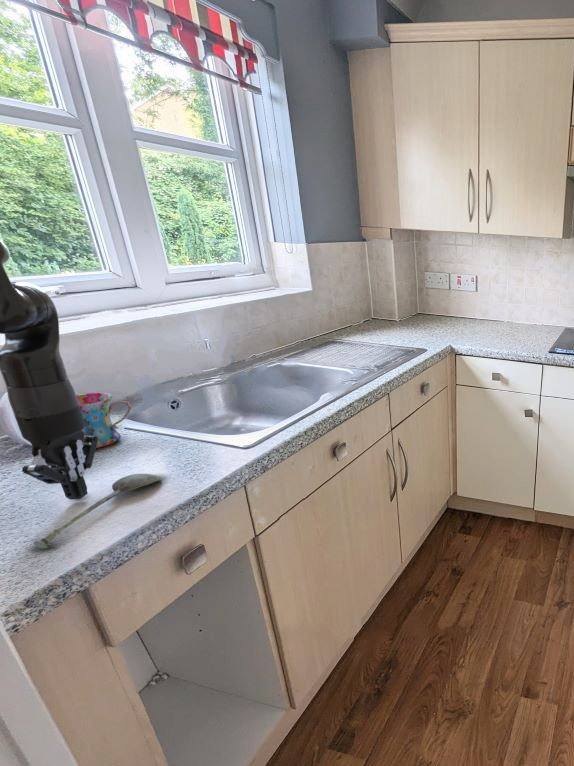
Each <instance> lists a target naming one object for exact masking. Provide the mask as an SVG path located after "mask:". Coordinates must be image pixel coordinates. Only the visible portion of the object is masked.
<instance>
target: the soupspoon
mask: <svg viewBox="0 0 574 766" xmlns="http://www.w3.org/2000/svg"><path fill="white" fill-rule="evenodd" d="M161 480H162V477H160V476H158V475H154V474H150V473H134V474H129V475H125V476H123V477H121V478H118V479H117V480H116V481H114V482H113V483H112V485H111V490H113V492H111V493H110V494H108V495H106V496H104V497H103V498H101V499H99V500H98V501H96V502H95V503H94V504H92V505H90V506H89V507H87V508H86V509H84V510H83V511H82V512H81V513H79V514H77V515H76V516H74V517H73V518H72V519H70V520H69V521H67V522H66V523H64V524H63V525H61V526H60V527H59V528H57V529H54V530H53V532H50V533H49V534H47V535H46V536H44V537H42V538H41V539H40V540H35V541H34V542H33V545H34V546H35V547H36V548H39V549H42V550H43V549H44V550H45V549H47V548H48V544H50V543H51V541H53V540H54V539H55V538H56V536H57V535H60V534H61V533H62V532H63V531H64V530H65V529H67V528H68V527H70V526H71V525H73V524H75V523H76V522H77V521H78V520H80V519H82V518H83V517H85V516H86V515H88V514H89V513H90V512H92V511H93V510H95V509H96V508H98V507H99V506H101V505H103V504H104V503H106V502H108V501H109V500H111V499H113V498H115V497H117V496H119V495H120V494H123V493H126V492H129V491H133V490H135V489H139V488H141V487H144V486H147V485H151V484H153V483H156V482H159V481H161Z"/></svg>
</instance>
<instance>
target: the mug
mask: <svg viewBox="0 0 574 766" xmlns="http://www.w3.org/2000/svg"><path fill="white" fill-rule="evenodd" d="M76 397H77V400H78V403H79V406H80V410H81V413H82V416H83V419H84V422H85V428H84V429H83V430H82V431H83V432H84V435H86V436H97V437H98V442H97V446H96V449H98V448H103V447H106V446H109V445H112V444H114V443H116V442H117V441H119V440H120V439H121V436H122V434H121V433H120V432H119V431H118V429H119V428H120V427H119V426H118V424H120V423H122V422H123V421H124V420H125V419H126V418H127V417H128V416H129V414H130V412H131V409H132V406H131V403H129V401H126V400H117V401H114V402H113V403H111V402H112V399H113V396H112V394H110V393H107V392H89V393H88V392H87V393H80V394H76ZM117 404H126V406H127V408H128V409H127V411H126V413H125V415H124V416H123V417H122V418H121V419H119V420H117V421H115V422H114V423H113V422H112V421H111V420H112V419H111V412H112V410H113V407H114V406H115V405H117Z"/></svg>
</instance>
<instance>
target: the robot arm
mask: <svg viewBox="0 0 574 766" xmlns="http://www.w3.org/2000/svg"><path fill="white" fill-rule="evenodd" d="M8 261H10V253H9V250H8V248H7V247H6V245H5V243H4V242H3V240H2V239H0V335H4V340H5V341H4V342H5V343H4V344H3V346H2V347H1V348H0V374H1V377H2V380H3V382H4V385H5V388H6V393H7V399H8V402H9V406H10V408H11V410H12V413H13V416H14V418H15V421H16V423H17V426H18V429H19V431H20V434H21V437H22V439H24V440H26V441H28V442H29V443H30V445H31V455H32V457H33V459H32V461H31V463H30V465H28V464H27V465H24V466H23V467H22V469H21V471H22V473H23V474H25V475H27V476H30V477H32V478H34V479H36V480H39V481H40V482H42V483H44V484H46V485H53V484H56V485H57V484H60V485H61V488H62V491H63V494H64V496H65V498H66V499H68V500H70V501H71V500H73V501H74V500H81V499H83V498H84V497H86V496H87V495H88V494H89V492H88V487H87V483H86V480H85V477H84V476H85V475H86V470H87V469H91V468H92V465H93V461H94V457H95V453H96V449H97V448H96V446H97V442H98V437H97V436H86V435H84V432H83V431H82V430H83V429H84V428H85V422H84V419H83V416H82V413H81V410H80V406H79V403H78V400H77V397H76V395H77V394H76V391H75V389H74V386H73V385H72V383H71V381H70V379H69V376H68V373H67V370H66V368H65V363H64V361H63V359H62V356H61V353H60V337H61V336H60V323H59V322H60V321H59V315H58V311H57V307H56V305H55V303H54V301H53V299H52V298H51V297H50V296H49V294H48V293H47V292H46V291H45V290H44V289H42V288H41V287H39V286H38V285H35V284H33V283H29V282H24V281H11V280H10V277H9V276H8V273H7V271H6V269H5V267H4V264H6V263H8Z"/></svg>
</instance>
